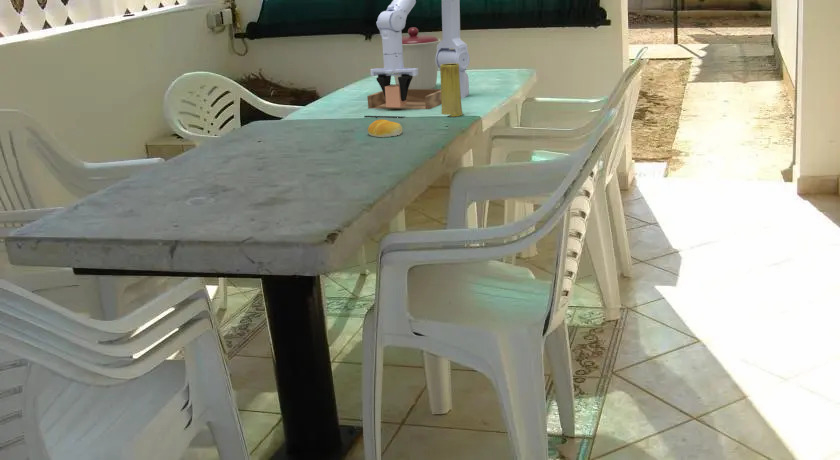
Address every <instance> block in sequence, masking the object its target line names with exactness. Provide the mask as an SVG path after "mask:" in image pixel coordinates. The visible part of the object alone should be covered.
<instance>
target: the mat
mask: <svg viewBox="0 0 840 460" xmlns="http://www.w3.org/2000/svg"><path fill="white" fill-rule="evenodd" d="M397 117H398V118H397ZM364 118H371V119H372V118H373V119H374V118H376V119H379V118H380V119H381V118H382V119H387V118H388V119H404V118H405V115H404V116H402V115H401V116H398V115H397V116H396V115H395V116H393V115H391V116H389V115H364Z"/></svg>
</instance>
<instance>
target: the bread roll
mask: <svg viewBox="0 0 840 460" xmlns="http://www.w3.org/2000/svg"><path fill="white" fill-rule="evenodd" d="M367 133H368V134H369V136H371V137H376V138H380V137H382V138H392V137H391V136H394V137H398V136H400V135H402V134H403V127H402V125H401V124H400V123H399V122H396V121H390V120H388V119H385V118H382V119H381V118H380V119H377V120H375V121H373V122H372V123H371V124H369V126H368V128H367ZM397 135H398V136H397Z"/></svg>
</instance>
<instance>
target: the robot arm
mask: <svg viewBox="0 0 840 460" xmlns="http://www.w3.org/2000/svg"><path fill="white" fill-rule="evenodd" d="M460 1H461V0H441V24H442V25H441V29H442V40H441V42H439V44H438V45H437V53H436V57H435V61H436V65H437V66H438V69H440V65H441V64H448V63H457V64H459V77H460V92H461V99H465V98H466V97H467V96H469V95H470V88H469V87H470V85H469V84H470V83H469V82H470V80H469V75H468V73H467V72H466V71H467V68H468V67H469V65H470V61H471V58H470V57H471V56H470V54H469V51H468V50H469V48H468V44H467V43H466V42H465V41H463V40H462V39H461V13H460V12H461V11H460V9H461V8H460ZM416 3H417V1H416V0H392V1H391V3H390V4H389V5H388V6H387V8H386V10H383V11H381V12H380V14H379V15H378V17H377V21H376V24H375V25H376V26H377V29H378V30H379V34H380V37H381V42H382V55H383V56H382V57H383V59H382V60H383V67H381V68H377V67H375V68H370V76H371V77H375V76H377V77H376V82H377V83H378V85H379V87H380V88H381V91H383V93H384V96H385V86H388V85H391V82H392V81H391V80H392V76H401V77H398V81H399V85H400V92H401V101H405V100H406V98H407V92H408V88H409V85H410V82H411V80H412V78H413V76H416V75H418V68H404V64H403V48H402V37H403V36H402V35H403V33H402V31H403V30H404V29H405V27H406V24H407V23H406V21H407V17H408V15H409V14H410V12H411V10H412V9H413V8H414V7H415V5H416ZM394 73H400V74H394ZM401 73H403V74H401ZM411 75H412V76H411ZM385 100H386V97H385Z"/></svg>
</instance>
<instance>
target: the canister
mask: <svg viewBox="0 0 840 460" xmlns="http://www.w3.org/2000/svg"><path fill="white" fill-rule="evenodd" d="M407 33H408V35H405V36H402V48H403V64H404V68H418V75H416V76H413V78H412V80H411V82H410V85H409V88H408V89H435V87H436V85H437V81H438V71H439V70H438V69H439V68H438V66H437V65H436V61H435V57H436V53H437V45H438V44H439V43H440V42H441V41H442V40H441V39H440V38H438V37H437V36H434V35H423V34H421V35H420V34H419V29H418V28H417V27H409V28H408V30H407ZM393 74H400V73H393ZM401 74H403V73H401ZM411 76H412V75H411ZM398 77H401V76H394V81H395V84H399V81H398Z"/></svg>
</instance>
